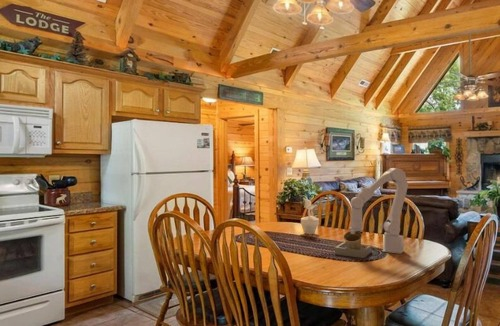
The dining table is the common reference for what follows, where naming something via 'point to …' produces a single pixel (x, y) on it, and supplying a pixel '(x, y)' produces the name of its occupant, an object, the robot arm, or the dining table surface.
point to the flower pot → (353, 240)
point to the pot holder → (352, 251)
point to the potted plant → (309, 219)
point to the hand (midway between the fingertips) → (356, 245)
